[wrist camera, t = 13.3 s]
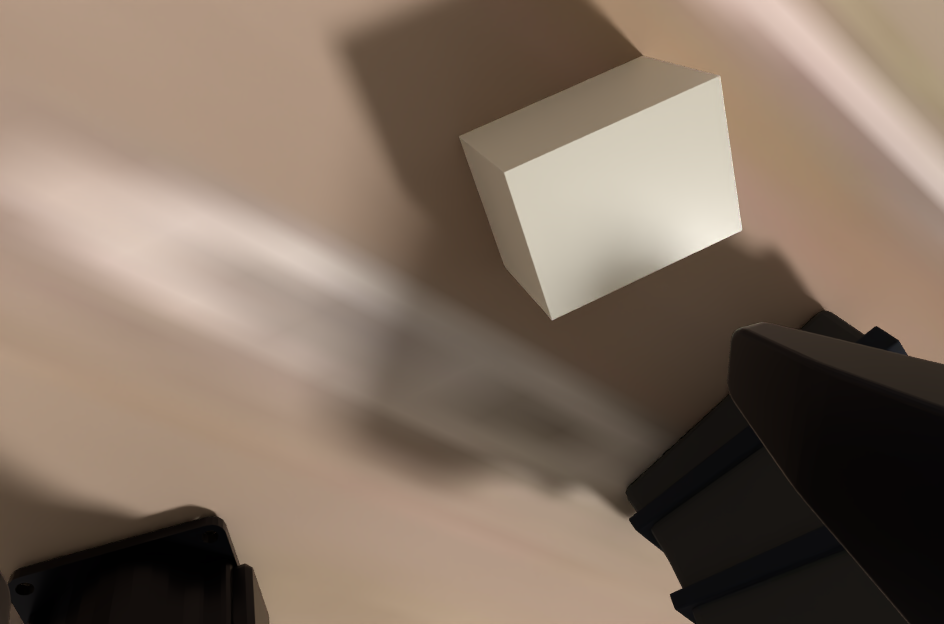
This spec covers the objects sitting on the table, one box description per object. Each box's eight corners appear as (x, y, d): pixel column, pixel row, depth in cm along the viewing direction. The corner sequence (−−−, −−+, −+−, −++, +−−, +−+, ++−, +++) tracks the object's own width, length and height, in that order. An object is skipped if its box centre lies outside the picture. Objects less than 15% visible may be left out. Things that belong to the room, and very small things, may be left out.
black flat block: (952, 314, 28) (1232, 756, 17) (650, 438, 34) (716, 821, 23) (920, 255, 26) (1215, 711, 15) (606, 397, 32) (656, 794, 21)
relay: (503, 265, 23) (551, 320, 20) (457, 135, 21) (504, 172, 17) (667, 189, 24) (742, 230, 20) (640, 54, 21) (720, 75, 18)
